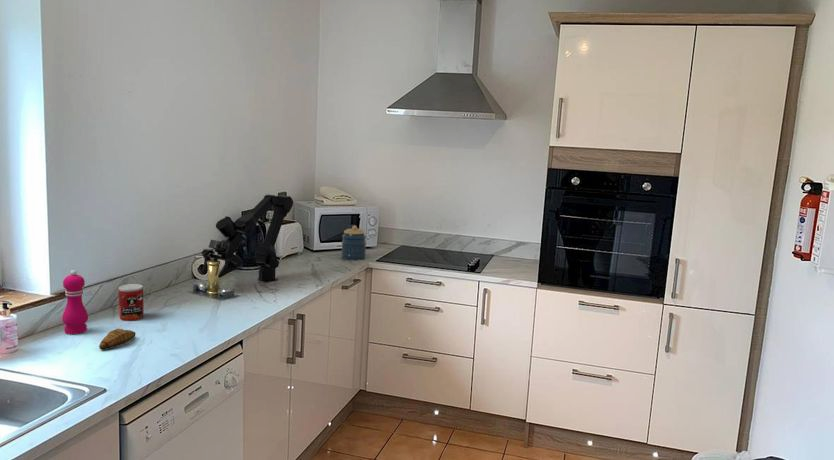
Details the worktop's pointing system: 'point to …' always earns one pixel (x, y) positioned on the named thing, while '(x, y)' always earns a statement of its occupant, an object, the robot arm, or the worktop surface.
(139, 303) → the canned food
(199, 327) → the worktop surface
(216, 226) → the robot arm
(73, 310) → the pepper mill
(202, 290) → the shaft bed
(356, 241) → the canister
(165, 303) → the worktop surface
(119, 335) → the croissant
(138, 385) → the worktop surface
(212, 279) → the gold flanged cylinder
